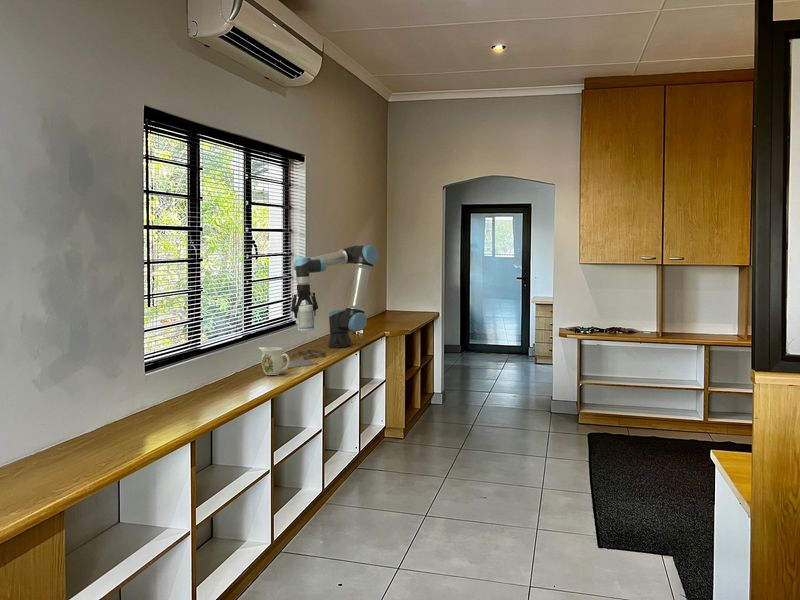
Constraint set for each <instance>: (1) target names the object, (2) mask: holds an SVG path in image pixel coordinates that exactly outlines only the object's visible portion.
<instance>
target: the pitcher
mask: <svg viewBox="0 0 800 600" xmlns="http://www.w3.org/2000/svg"><path fill="white" fill-rule="evenodd" d="M257 349H259V350H260V351H261V353H262V356H261V359H260V361H261V367H262V370H263V372H264V374H265V376H267V375H277V376H280V375H281V373H282V372H284V371H286V370H287V369H288V367H289V365H290V361H291V359H290V356H289V355H288V354H287V353H282V352H283V348H282V347H277V346H276V347H274V346H272V347H271V346H267V347H266V346H265V347H264V346H262V347H261V346H260V347H257ZM284 357H285V358H286V362H287V365H286V367H283V363H284V362H285V361H284ZM279 374H280V375H279Z"/></svg>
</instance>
